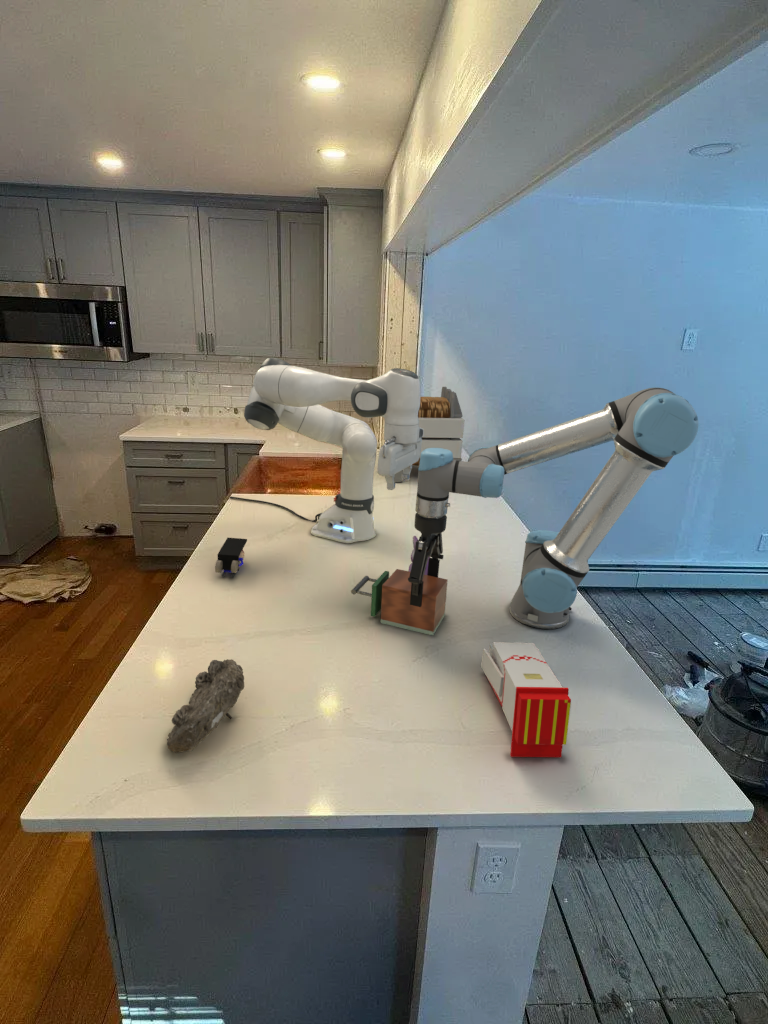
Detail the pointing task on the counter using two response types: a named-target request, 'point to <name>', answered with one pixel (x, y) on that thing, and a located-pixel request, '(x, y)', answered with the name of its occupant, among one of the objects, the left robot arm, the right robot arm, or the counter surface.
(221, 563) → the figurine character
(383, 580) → the drawer
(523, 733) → the toy
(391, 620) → the cabinet
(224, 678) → the fossil
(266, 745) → the counter surface
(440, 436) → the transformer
